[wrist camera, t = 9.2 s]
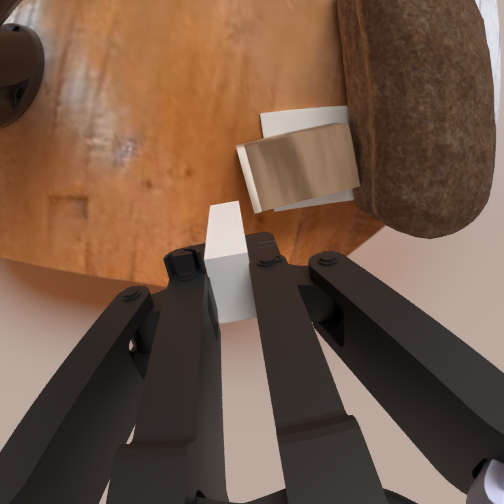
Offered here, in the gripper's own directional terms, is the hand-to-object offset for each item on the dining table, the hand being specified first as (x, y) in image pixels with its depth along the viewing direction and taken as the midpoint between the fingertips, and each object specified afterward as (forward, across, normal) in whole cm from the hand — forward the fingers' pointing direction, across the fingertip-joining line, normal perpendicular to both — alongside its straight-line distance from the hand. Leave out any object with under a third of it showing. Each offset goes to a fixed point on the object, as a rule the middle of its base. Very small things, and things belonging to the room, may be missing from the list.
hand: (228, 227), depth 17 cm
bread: (+21, +22, +7) cm, 32 cm away
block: (+19, +2, -1) cm, 19 cm away
